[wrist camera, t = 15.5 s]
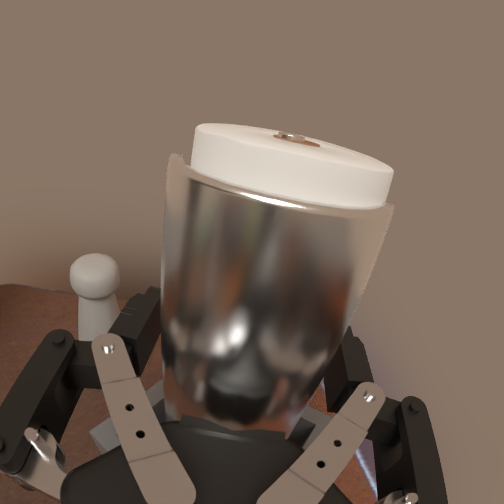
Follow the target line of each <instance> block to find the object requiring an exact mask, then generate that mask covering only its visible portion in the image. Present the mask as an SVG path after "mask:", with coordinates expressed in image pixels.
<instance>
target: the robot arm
mask: <svg viewBox="0 0 504 504" xmlns="http://www.w3.org/2000/svg"><path fill="white" fill-rule="evenodd" d="M160 333H161V288H158V287H154V286H150V287H149V289H148V290H147V292H146V293H145V295H142V294H137V295H135V296H133V297H132V298H130V299H129V301H128V302H127V304H126V305H125V307H124V308H123V310H122V311H121V313H120V314H119V316H118V317H117V319H116V320H115V322H114V323H113V325H112V326H111V328H110V329H109V331H108V332H107V333H104V334H100V335H98V336H97V337H95V338H94V340H93V341H80V340H74V338H73V335H72V334H71V333H70V332H68V331H66V330H62V329H58V330H54V331H51V332H50V333H48V334H47V335H46V337H45V338H44V339H43V341H42V342H41V344H40V345H39V347H38V348H37V350H36V351H35V352H34V354H33V355H32V357H31V358H30V360H29V361H28V363H27V364H26V366H25V367H24V369H23V370H22V372H21V374H20V375H19V377H18V378H17V380H16V382H15V383H14V385H13V386H12V388H11V390H10V391H9V393H8V395H7V396H6V398H5V400H4V401H3V403H2V405H1V407H0V471H1V472H2V473H3V474H5V475H6V476H7V477H8V478H10V479H11V480H12V481H13V482H15V483H17V484H19V485H20V486H21V487H23V488H24V489H26V490H29V491H35V490H36V491H38V492H40V493H42V494H44V495H46V496H48V497H50V498H52V499H54V500H56V501H58V502H60V503H61V504H352V503H351V501H350V500H349V499H348V498H347V497H346V496H345V495H344V494H343V493H342V492H341V491H340V489H339V488H338V487H337V486H336V485H335V484H334V483H333V482H334V481H335V480H336V478H337V477H338V476H339V474H340V473H341V472H342V470H343V469H344V467H345V466H346V465H347V463H348V462H349V460H350V459H351V458H352V456H353V455H354V453H355V452H356V450H357V449H358V447H359V446H360V444H361V443H362V441H363V440H364V438H366V439H369V440H372V441H373V449H374V459H375V470H376V481H377V494H378V501H377V502H376V503H375V504H448V500H447V495H446V488H445V483H444V478H443V473H442V468H441V463H440V458H439V454H438V450H437V446H436V442H435V437H434V434H433V430H432V426H431V422H430V418H429V415H428V411H427V408H426V406H425V404H424V403H423V402H422V401H421V400H420V399H419V398H416V397H413V396H408V397H406V398H404V399H403V400H402V402H399V401H396V400H393V399H390V398H387V397H385V393H384V391H383V390H382V389H381V388H380V387H379V386H378V385H376V384H374V381H373V377H372V373H371V369H370V366H369V362H368V359H367V355H366V351H365V348H364V345H363V343H362V342H361V341H360V339H359V338H358V337H353V334H352V330H351V327H350V326H348V328H347V330H346V332H345V334H344V336H343V338H342V341H341V343H340V345H339V347H338V349H337V351H336V353H335V355H334V357H333V359H332V361H331V363H330V365H329V367H328V369H327V371H326V372H325V374H324V385H325V394H326V403H327V412H334V413H336V415H335V416H334V418H333V419H332V420H331V421H330V423H329V424H328V425H327V426H326V427H325V429H324V430H323V431H322V432H321V433H320V435H319V436H318V437H317V438H316V439H315V440H314V442H313V443H312V444H311V445H310V446H309V447H308V448H307V449H306V451H305V450H304V449H303V448H301V447H300V446H299V445H297V444H295V443H294V442H291V441H289V440H286V439H285V432H280V431H271V430H264V429H254V430H237V431H235V430H230V429H228V428H225V427H223V426H221V425H218V424H216V423H214V422H211V421H209V420H206V419H201V418H197V417H193V416H188V415H184V414H182V417H181V421H167V422H163V423H159V422H158V420H157V418H156V415H155V413H154V411H153V409H152V407H151V404H150V402H149V400H148V397H147V395H146V393H145V390H144V388H143V386H142V383H141V381H140V379H139V377H140V376H141V374H142V372H143V370H144V368H145V365H146V363H147V361H148V359H149V356H150V354H151V352H152V350H153V348H154V346H155V343H156V341H157V339H158V337H159V335H160ZM136 376H137V377H136ZM138 376H139V377H138ZM84 388H94V389H102V390H103V393H104V396H105V400H106V403H107V406H108V409H109V412H110V415H111V418H112V421H113V424H114V427H115V430H116V433H117V435H118V438H119V441H120V443H121V445H119V446H117V447H115V448H113V449H111V450H110V451H108V452H106V453H104V454H102V455H100V456H98V457H96V458H95V459H93V460H91V461H89V462H87V463H85V464H83V465H81V466H79V467H77V468H75V469H73V470H72V471H70V472H69V473H68V474H66V473H65V470H64V463H65V454H64V451H63V449H62V448H61V446H60V445H59V442H60V440H61V437H62V435H63V433H64V431H65V428H66V426H67V424H68V421H69V419H70V417H71V415H72V413H73V410H74V408H75V406H76V404H77V402H78V400H79V398H80V395H81V393H82V391H83V389H84Z"/></svg>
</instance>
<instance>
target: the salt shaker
mask: <svg viewBox="0 0 504 504" xmlns="http://www.w3.org/2000/svg"><path fill="white" fill-rule="evenodd" d="M70 283H71V287H72V288H73V290H74V291H75V293H76V294H77V295H78V296H79V310H78V335H79V340H80V341H93V340H94V338H95V337H97V336H98V335H100V334H104V333H107V332H108V331H109V329H110V328H111V326H112V325H113V323H114V322H115V320H116V319H117V317H118V316H119V314H120V310H119V306H118V303H117V299H116V296H115V292H116V290H117V288H118V287H119V284H120V274H119V269H118V265H117V263H116V262H115V261H114V260H113V259H112V258H111V257H110V256H107V255H104V254H97V253H92V254H87V255H84V256H82V257H79V258H78V259H77V260H76V261H75V262H74V263H73V264H72V266H71V268H70Z"/></svg>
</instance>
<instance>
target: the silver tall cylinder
mask: <svg viewBox="0 0 504 504" xmlns="http://www.w3.org/2000/svg"><path fill="white" fill-rule="evenodd" d="M393 173H394V171H393V169H392V168H391V167H390V166H388V165H386V164H384V163H382V162H380V161H378V160H376V159H374V158H372V157H370V156H367V155H364V154H362V153H359V152H356V151H353V150H350V149H347V148H344V147H341V146H338V145H335V144H331V143H328V142H324V141H321V140H317V139H313V138H309V137H305V136H301V135H296V134H292V133H286V132H281V131H276V130H270V129H265V128H258V127H251V126H243V125H234V124H201V125H199V126H197V127H196V129H195V136H194V143H193V151H192V158H191V166H187V165H186V164H185V163H184V156H183V155H182V154H180V153H173V154H172V155H171V156H170V159H169V161H168V165H167V176H166V187H165V199H164V214H163V231H162V255H161V258H162V259H161V349H162V372H163V389H164V403H165V415H166V422H167V421H181V417H182V414H184V415H188V416H193V417H197V418H201V419H206V420H209V421H211V422H214V423H216V424H218V425H221V426H223V427H225V428H228V429H230V430H235V431H237V430H254V429H264V430H271V431H280V432H285V439H286V440H287V439H288V437H289V436H290V434H291V433H292V431H293V429H294V428H295V426H296V424H297V423H298V421H299V419H300V418H301V416H302V414H303V412H304V411H305V409H306V407H307V405H308V404H309V402H310V400H311V398H312V397H313V395H314V393H315V391H316V389H317V388H318V386H319V384H320V382H321V380H322V378H323V376H324V374H325V372H326V371H327V369H328V367H329V365H330V363H331V361H332V359H333V357H334V355H335V353H336V351H337V349H338V347H339V345H340V343H341V341H342V338H343V336H344V334H345V332H346V330H347V328H348V326H349V323H350V321H351V319H352V317H353V315H354V312H355V310H356V308H357V306H358V303H359V301H360V299H361V296H362V294H363V292H364V289H365V287H366V284H367V282H368V280H369V277H370V275H371V272H372V269H373V267H374V264H375V262H376V259H377V257H378V254H379V251H380V249H381V246H382V243H383V240H384V238H385V235H386V232H387V229H388V226H389V223H390V220H391V218H392V215H393V212H394V206H393V205H392V204H391V203H388V202H385V201H386V197H387V194H388V191H389V187H390V184H391V180H392V177H393Z"/></svg>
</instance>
